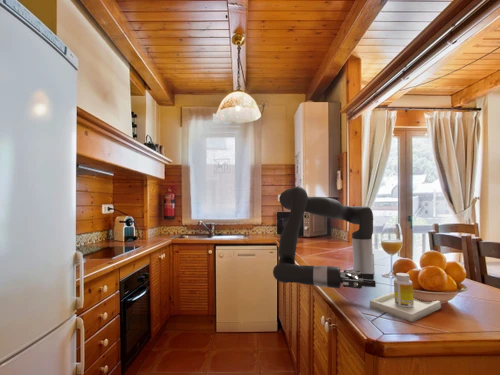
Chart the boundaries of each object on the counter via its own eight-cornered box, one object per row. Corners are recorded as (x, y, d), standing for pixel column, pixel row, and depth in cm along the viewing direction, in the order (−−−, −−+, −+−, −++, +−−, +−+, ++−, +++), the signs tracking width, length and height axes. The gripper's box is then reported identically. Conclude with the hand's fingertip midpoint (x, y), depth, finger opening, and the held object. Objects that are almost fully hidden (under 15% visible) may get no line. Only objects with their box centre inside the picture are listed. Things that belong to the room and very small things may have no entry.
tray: (398, 296, 101) (398, 290, 101) (440, 308, 89) (440, 301, 89) (369, 306, 91) (369, 300, 91) (412, 321, 79) (412, 314, 79)
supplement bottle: (417, 306, 89) (415, 275, 89) (406, 309, 86) (405, 277, 87) (401, 300, 94) (400, 271, 94) (391, 303, 91) (389, 273, 92)
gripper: (324, 271, 93) (375, 274, 87) (328, 262, 106) (372, 264, 100) (325, 292, 93) (376, 298, 87) (328, 281, 106) (373, 285, 100)
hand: (374, 280), depth 94 cm, fingers open, 8 cm apart
